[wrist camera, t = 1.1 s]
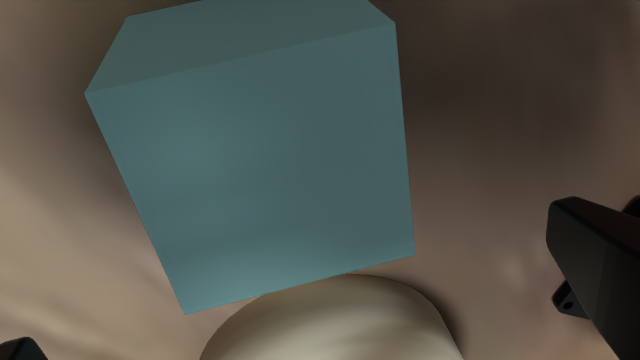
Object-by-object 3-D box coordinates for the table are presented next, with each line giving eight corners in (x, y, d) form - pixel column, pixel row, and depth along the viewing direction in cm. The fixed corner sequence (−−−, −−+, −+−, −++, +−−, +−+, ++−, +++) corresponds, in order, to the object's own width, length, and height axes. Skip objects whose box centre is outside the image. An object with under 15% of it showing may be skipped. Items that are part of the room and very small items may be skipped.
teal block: (331, -29, 15) (395, 22, 10) (357, 147, 18) (415, 254, 13) (127, 15, 14) (83, 93, 9) (191, 188, 18) (184, 315, 13)
